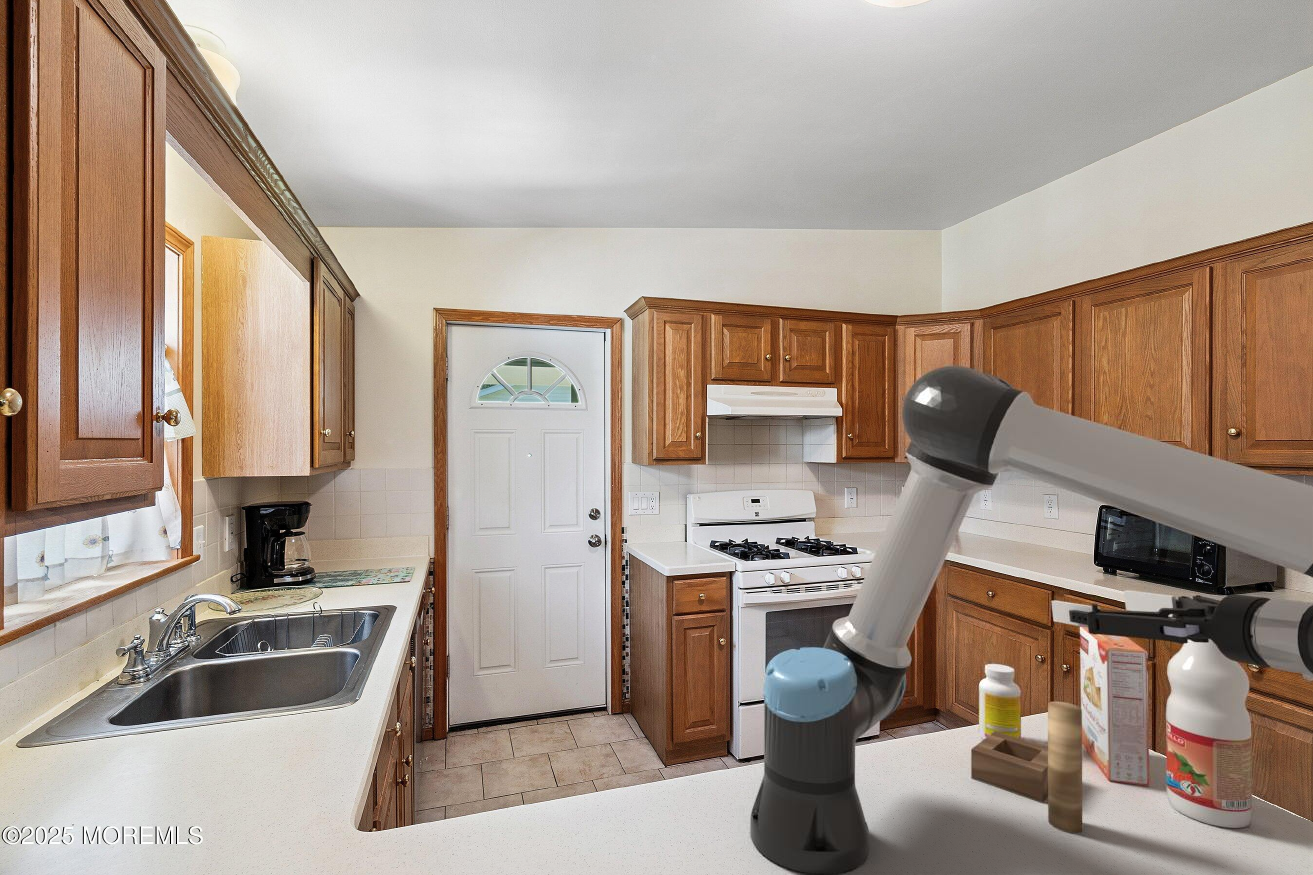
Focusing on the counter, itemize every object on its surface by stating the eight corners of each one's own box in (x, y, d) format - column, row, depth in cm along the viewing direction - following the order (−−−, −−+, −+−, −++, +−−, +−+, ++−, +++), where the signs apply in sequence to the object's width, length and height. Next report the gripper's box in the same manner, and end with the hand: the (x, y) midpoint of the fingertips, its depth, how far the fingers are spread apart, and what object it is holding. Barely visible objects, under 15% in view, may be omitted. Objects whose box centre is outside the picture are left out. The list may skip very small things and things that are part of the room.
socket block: (1042, 802, 97) (1042, 771, 97) (971, 778, 104) (971, 748, 104) (1062, 779, 104) (1062, 750, 104) (994, 758, 111) (994, 731, 111)
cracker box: (1078, 744, 117) (1078, 624, 118) (1118, 749, 115) (1117, 627, 116) (1105, 781, 104) (1104, 646, 104) (1151, 788, 102) (1150, 650, 102)
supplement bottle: (1028, 749, 115) (1028, 674, 115) (989, 748, 115) (989, 673, 115) (1009, 733, 122) (1009, 662, 122) (972, 732, 122) (972, 661, 122)
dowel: (1077, 836, 89) (1077, 714, 89) (1044, 824, 92) (1043, 706, 92) (1086, 824, 91) (1085, 707, 92) (1053, 813, 94) (1052, 699, 95)
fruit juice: (1260, 837, 89) (1258, 626, 89) (1171, 817, 94) (1170, 616, 94) (1243, 806, 97) (1241, 612, 97) (1162, 788, 102) (1161, 604, 102)
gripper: (1197, 685, 69) (1025, 644, 89) (1347, 653, 77) (1158, 622, 97) (1188, 611, 69) (1019, 586, 89) (1338, 586, 77) (1152, 569, 97)
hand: (1091, 605), depth 93 cm, fingers open, 13 cm apart
